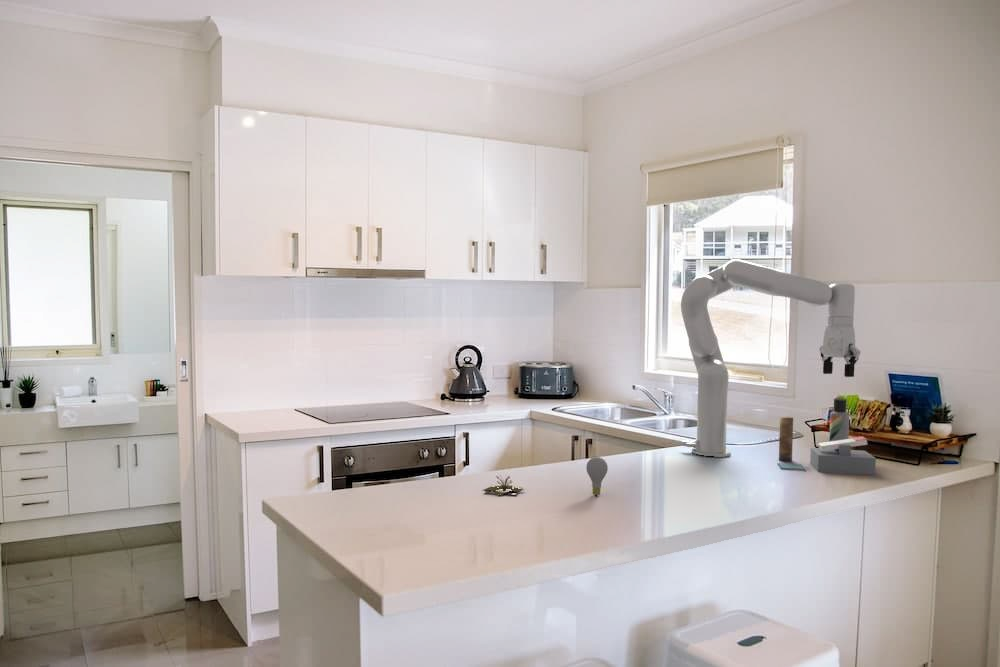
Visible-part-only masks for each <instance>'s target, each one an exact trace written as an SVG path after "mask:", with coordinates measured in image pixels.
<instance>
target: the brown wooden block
mask: <svg viewBox="0 0 1000 667" xmlns="http://www.w3.org/2000/svg"><path fill="white" fill-rule="evenodd" d="M793 436H794V417H791V416H779V440H778V441H779V443H778V444H779V446H778V460H779V462H783V463H790V462H793V445H794V444H793V439H794V437H793Z"/></svg>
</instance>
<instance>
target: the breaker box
mask: <svg viewBox="0 0 1000 667" xmlns="http://www.w3.org/2000/svg"><path fill="white" fill-rule="evenodd" d="M809 455H810V456H809V457H810V458H809V462H810V463H809V464H810V465H811V466H812V467H813V468H814V469H815V470H816V471H817V472H818V473H835V474H855V475H872V476H876V464H877V463H876V462H877V461H876V460H877V459H876V457H875V456H873V455H872V454H871V453H869V452H867V451H866V450H862V449H861V450H858V449H852V447H851V445H839V449H833V450H826V451H822V450H821V449H820V448H819V447H810V454H809Z"/></svg>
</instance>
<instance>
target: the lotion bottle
mask: <svg viewBox="0 0 1000 667" xmlns="http://www.w3.org/2000/svg"><path fill="white" fill-rule="evenodd" d="M847 401H848V400H847V399H846V398H844V397H838V396H837V397H834V398H833V409H832V410H833V411H831V412H830V414H829V415H830V416H829V419H830V420H829V441H828V442H830V441H837V440H844V439H850V438H849V431H850V413H849V412H848V411H847V404H848V403H847Z"/></svg>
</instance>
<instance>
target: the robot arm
mask: <svg viewBox="0 0 1000 667" xmlns="http://www.w3.org/2000/svg"><path fill="white" fill-rule="evenodd" d="M736 287H739V288H742V289H745V290H746V289H747V290H750V291H754V292H757V293H760V294H765V295H768V296H773V297H783V298H788V299H792V300H797V301H800V302H804V303H806V304H807V305H810V306H812V307H813V306H815V307H819V306H826V305H827V306H828V310H827V312H828V313H827V325H826V326H825V329H824V332H823V333H824V334H823V342H822V346H820V347H818V349H819V353H820V356H821V360H822V362H823V367H822V373H823V374H824V375H825V374H826V375H831V374H833V368H834V367H833V366H834V362H833V361H832V360H833V358H839V359H840V358H843V359H844V361H845V363H844V374H843V375H844V377H845V378H853V377H855V365H856V364H857V362H858V360H859V358H860V355H861V350H860V349H859V348H858V347H856V334H855V326H854V316H855V314H854V312H855V297H856V294H855V291H856V288H855V286H854V285H853V283H832V284H827V283H826V282H823V281H820V280H816V279H814V278H813V279H812V278H808V277H806V276H801V275H797V274H793V273H789V272H786V271H783V270H779V269H775V268H771V267H768V266H763V265H760V264H756V263H752V262H749V261H745V260H742V259H731V260H730V261H728V262H727V263H725V264H723V265H722V266H720V267H717V268H715V269H713V270H712V271H709V272H708V273H705V274H703V275H702V274H701V275H699V276H696V277H695V278H694V279H693V280H692V281H691V282H690V283H689V284H688V285H687V287H686V288H685V289H684V291H683V293H682V297H681V302H680V310H681V311H680V312H681V316H682V319H683V320H682V321H683V324H684V327H685V331H686V334H687V337H688V347H689V349H690V352H691V355H692V359H693V363H694V366H695V369H696V372H697V375H698V376H697V378H698V379H697V418H696V422H697V423H696V438H695V439H694V440H693V439H692V440H690V441H689V440H682V447H686V448H692V449H691V453H692V452H693V453H695V454H694V455H696V454H699V455H704V456H703V457H706V456H714V457H713V458H726V456H727V457H729V456H731V454H732V451H731V450H730V449H729V450H728V449H727V421H728V393H729V391H728V390H729V371H728V368H727V366H726V365H725V362H724V359H723V355H722V352H721V349H720V346H719V340H718V336H717V335H716V333H715V330H714V327H713V324H712V320H711V317H710V314H709V310H708V303H709V301H710V300H711V299H712V298H715V297H717V296H719V295H722V294H723V293H725V292H728V291H730V290H732V289H734V288H736ZM693 453H692V454H693ZM699 455H698V456H699Z"/></svg>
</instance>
